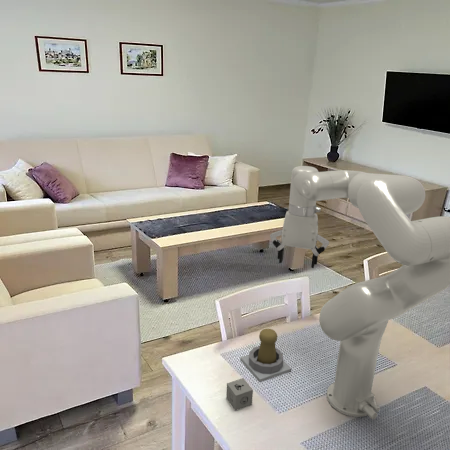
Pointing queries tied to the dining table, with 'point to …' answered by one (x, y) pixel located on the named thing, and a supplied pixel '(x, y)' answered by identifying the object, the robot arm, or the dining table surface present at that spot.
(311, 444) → the dining table surface
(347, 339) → the robot arm
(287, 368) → the ring board
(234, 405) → the dice cube
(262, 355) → the brown round-headed peg
